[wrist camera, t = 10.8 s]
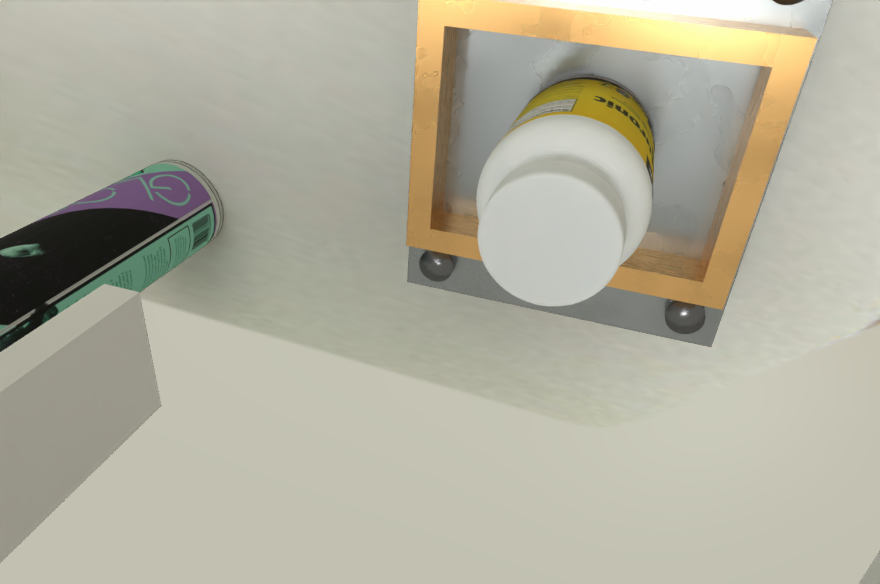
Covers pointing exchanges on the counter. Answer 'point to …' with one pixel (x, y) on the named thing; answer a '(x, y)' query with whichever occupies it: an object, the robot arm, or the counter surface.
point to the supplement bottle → (567, 192)
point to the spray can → (105, 244)
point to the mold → (673, 121)
